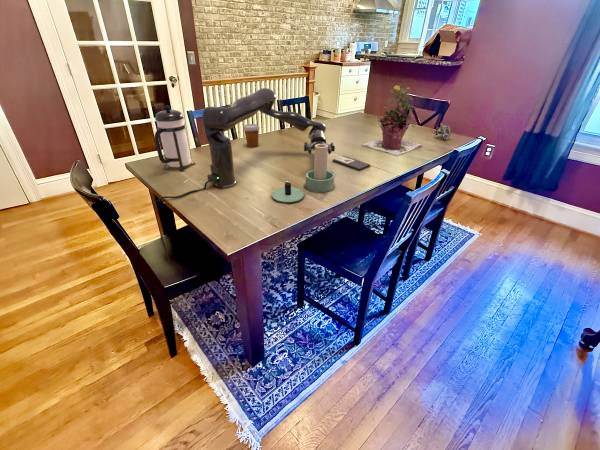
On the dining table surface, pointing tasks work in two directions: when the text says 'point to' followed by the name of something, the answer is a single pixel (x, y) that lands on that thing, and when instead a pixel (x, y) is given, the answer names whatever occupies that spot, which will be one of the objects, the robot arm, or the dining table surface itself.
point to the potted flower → (395, 126)
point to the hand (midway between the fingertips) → (319, 152)
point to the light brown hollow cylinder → (320, 161)
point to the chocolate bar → (351, 163)
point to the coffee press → (172, 139)
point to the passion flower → (443, 131)
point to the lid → (288, 194)
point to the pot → (319, 182)
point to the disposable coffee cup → (251, 134)
